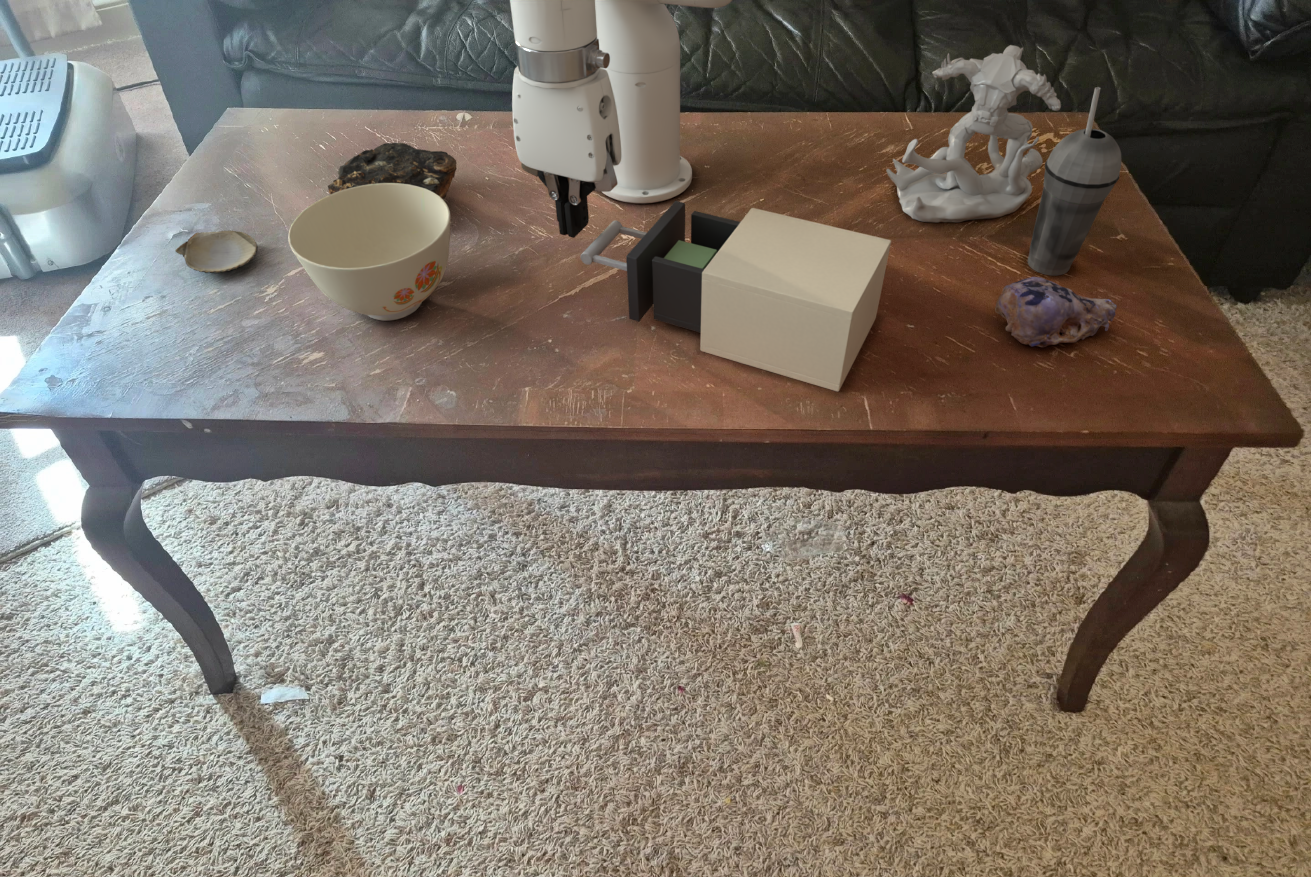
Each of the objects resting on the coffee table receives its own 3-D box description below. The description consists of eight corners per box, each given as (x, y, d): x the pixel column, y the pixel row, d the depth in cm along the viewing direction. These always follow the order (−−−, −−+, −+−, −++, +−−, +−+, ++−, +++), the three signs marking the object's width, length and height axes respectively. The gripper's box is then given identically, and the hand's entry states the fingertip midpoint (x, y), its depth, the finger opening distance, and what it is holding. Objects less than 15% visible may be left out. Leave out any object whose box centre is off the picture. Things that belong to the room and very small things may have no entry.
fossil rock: (375, 172, 116) (363, 130, 111) (472, 183, 113) (464, 141, 109) (323, 229, 106) (309, 186, 102) (428, 243, 104) (418, 199, 100)
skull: (1102, 303, 92) (1122, 259, 88) (1119, 358, 88) (1142, 315, 83) (984, 304, 94) (997, 260, 89) (995, 358, 89) (1010, 315, 84)
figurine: (1014, 169, 113) (1058, 25, 100) (1050, 223, 104) (1103, 72, 91) (877, 175, 113) (903, 31, 100) (901, 229, 104) (933, 79, 91)
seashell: (232, 298, 100) (274, 248, 103) (222, 281, 97) (265, 230, 101) (172, 273, 101) (216, 224, 105) (160, 255, 98) (205, 207, 102)
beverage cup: (1087, 286, 96) (1158, 108, 81) (1017, 279, 97) (1075, 102, 82) (1078, 248, 101) (1144, 75, 86) (1012, 242, 102) (1066, 70, 87)
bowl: (336, 368, 88) (306, 287, 81) (303, 286, 98) (273, 206, 91) (487, 321, 93) (471, 240, 86) (440, 247, 103) (423, 169, 96)
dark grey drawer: (573, 303, 94) (566, 240, 88) (622, 248, 101) (619, 186, 95) (749, 354, 87) (754, 290, 82) (789, 292, 94) (796, 229, 89)
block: (660, 296, 92) (660, 261, 89) (678, 274, 95) (678, 239, 92) (699, 307, 91) (699, 272, 88) (715, 284, 94) (717, 249, 91)
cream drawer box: (700, 351, 89) (701, 272, 82) (746, 284, 97) (751, 207, 90) (838, 392, 84) (852, 312, 78) (875, 318, 92) (891, 240, 85)
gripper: (648, 55, 81) (651, 228, 94) (512, 30, 86) (533, 198, 99) (609, 86, 76) (618, 264, 89) (467, 58, 81) (496, 231, 94)
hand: (573, 229), depth 94 cm, fingers closed
